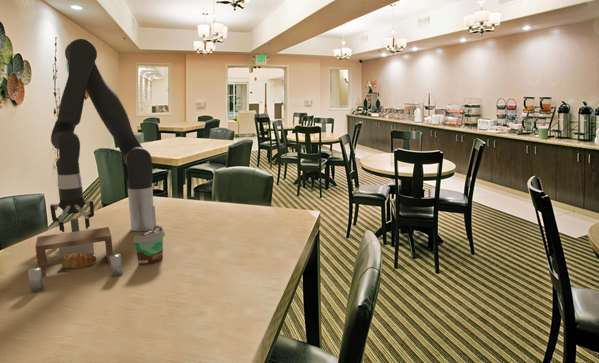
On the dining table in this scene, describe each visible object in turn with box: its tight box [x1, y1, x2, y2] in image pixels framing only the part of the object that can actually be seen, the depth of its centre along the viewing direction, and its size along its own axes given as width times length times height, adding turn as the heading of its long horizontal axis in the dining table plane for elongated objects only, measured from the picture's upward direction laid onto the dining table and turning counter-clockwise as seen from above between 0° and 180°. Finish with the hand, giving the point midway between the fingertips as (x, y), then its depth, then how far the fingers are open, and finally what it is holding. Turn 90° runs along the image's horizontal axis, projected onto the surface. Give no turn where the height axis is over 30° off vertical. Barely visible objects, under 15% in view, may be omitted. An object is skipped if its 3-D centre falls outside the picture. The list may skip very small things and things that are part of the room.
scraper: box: [58, 216, 95, 260], centre depth 140 cm, size 10×18×9 cm, turn 29°
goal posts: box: [27, 253, 123, 293], centre depth 113 cm, size 23×3×6 cm, turn 119°
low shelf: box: [34, 226, 114, 278], centre depth 125 cm, size 20×10×10 cm, turn 119°
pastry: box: [61, 253, 97, 269], centre depth 126 cm, size 9×7×4 cm
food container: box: [133, 224, 166, 266], centre depth 129 cm, size 12×6×10 cm, turn 168°
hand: (75, 229), depth 147 cm, fingers open, 7 cm apart
